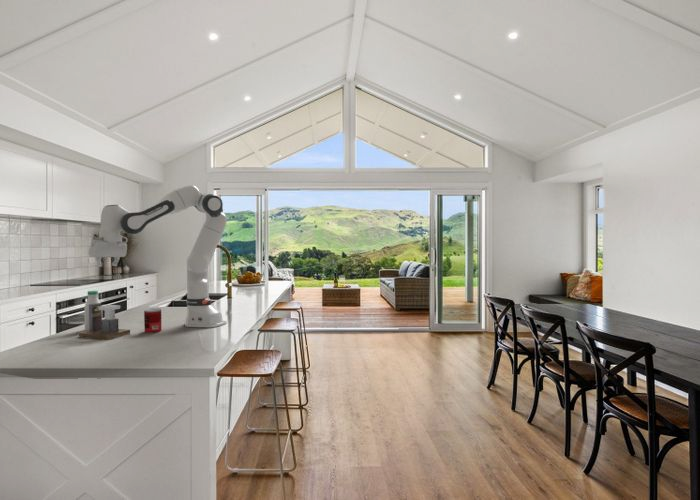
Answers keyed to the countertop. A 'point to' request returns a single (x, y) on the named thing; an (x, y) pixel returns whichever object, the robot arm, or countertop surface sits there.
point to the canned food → (152, 320)
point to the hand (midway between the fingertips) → (107, 266)
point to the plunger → (109, 311)
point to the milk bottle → (91, 300)
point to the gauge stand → (102, 326)
